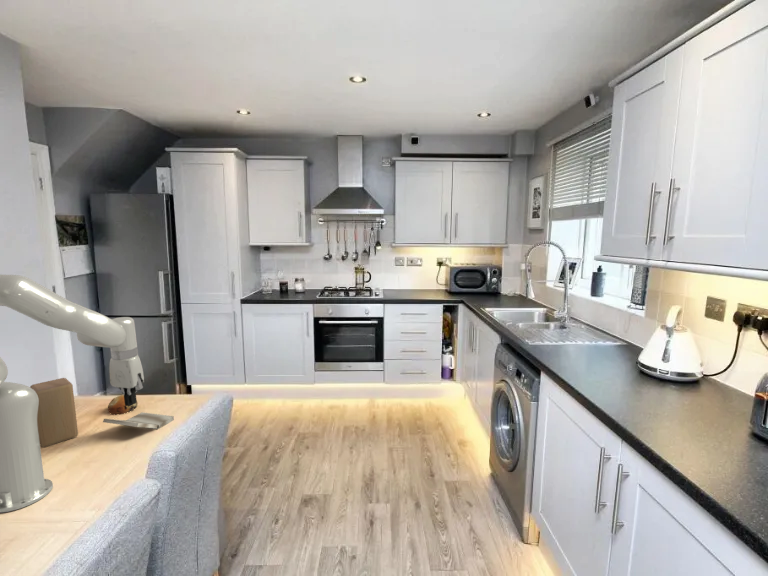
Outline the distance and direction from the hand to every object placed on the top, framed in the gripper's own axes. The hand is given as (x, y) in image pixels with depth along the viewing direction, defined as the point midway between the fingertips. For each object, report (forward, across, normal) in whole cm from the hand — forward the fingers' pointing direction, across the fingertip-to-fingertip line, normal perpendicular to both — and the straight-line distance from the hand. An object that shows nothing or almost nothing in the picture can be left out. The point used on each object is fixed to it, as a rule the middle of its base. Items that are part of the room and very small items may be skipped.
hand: (130, 404), depth 132 cm
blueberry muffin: (+13, -24, +17) cm, 32 cm away
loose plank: (+10, -4, +2) cm, 11 cm away
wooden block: (+12, -26, -7) cm, 30 cm away
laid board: (+12, -4, +10) cm, 17 cm away
